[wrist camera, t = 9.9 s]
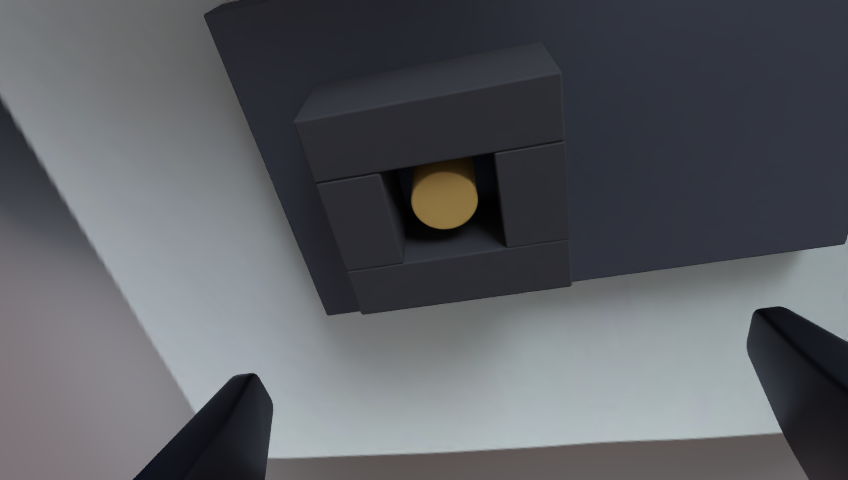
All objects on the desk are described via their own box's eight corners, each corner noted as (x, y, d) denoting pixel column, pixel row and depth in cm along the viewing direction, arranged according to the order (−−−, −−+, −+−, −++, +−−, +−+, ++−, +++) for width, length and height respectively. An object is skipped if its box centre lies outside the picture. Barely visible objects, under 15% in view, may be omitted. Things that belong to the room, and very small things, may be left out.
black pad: (541, 39, 15) (562, 70, 13) (554, 234, 19) (572, 287, 17) (313, 84, 16) (291, 121, 14) (370, 262, 20) (361, 315, 17)
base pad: (926, -155, 14) (1082, -166, 10) (820, 222, 20) (895, 288, 17) (219, 4, 16) (164, 35, 13) (332, 292, 23) (315, 362, 19)
